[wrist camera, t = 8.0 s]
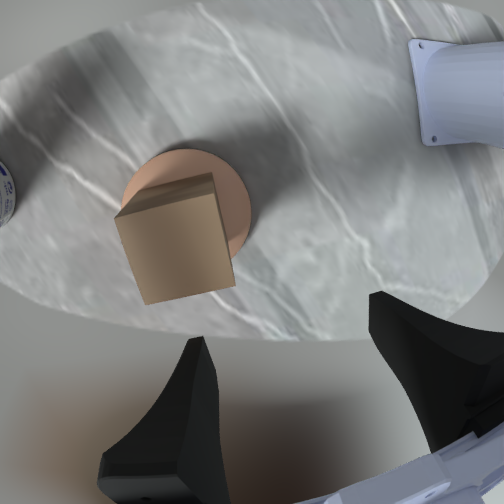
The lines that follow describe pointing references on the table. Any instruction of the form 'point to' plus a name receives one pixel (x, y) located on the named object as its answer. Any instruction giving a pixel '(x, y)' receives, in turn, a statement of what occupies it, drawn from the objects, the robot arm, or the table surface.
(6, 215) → the energy drink
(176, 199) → the walnut block
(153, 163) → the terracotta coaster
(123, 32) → the table surface
